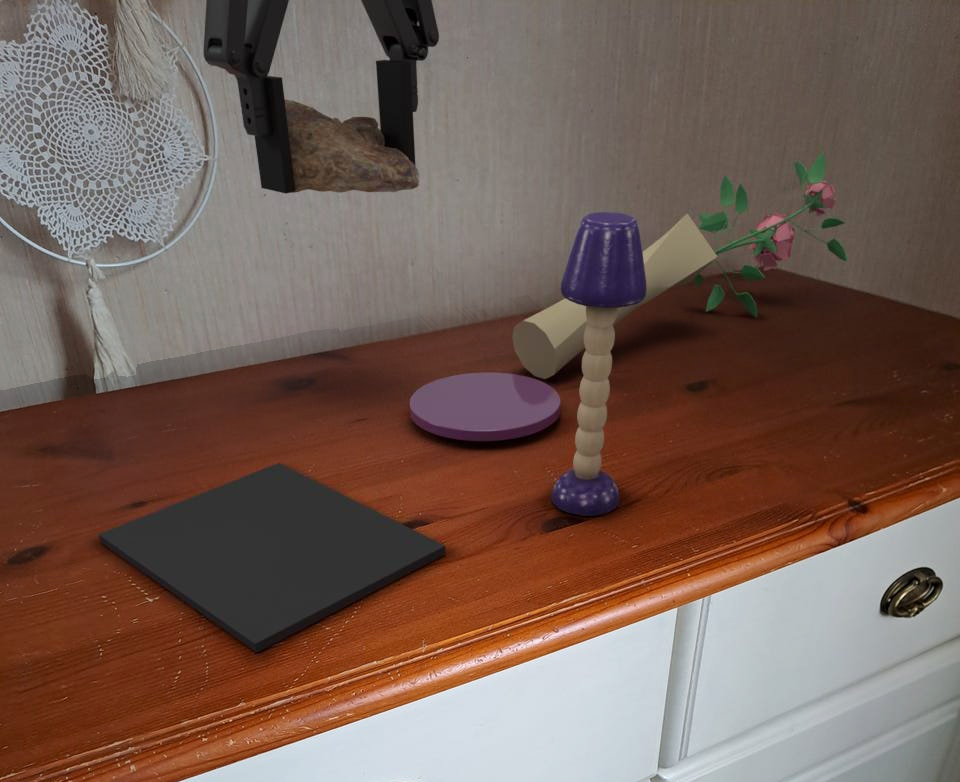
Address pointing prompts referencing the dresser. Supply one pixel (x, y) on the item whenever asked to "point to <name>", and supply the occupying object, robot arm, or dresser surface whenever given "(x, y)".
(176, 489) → the dresser surface
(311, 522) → the place mat
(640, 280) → the toy lamp
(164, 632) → the dresser surface
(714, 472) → the dresser surface
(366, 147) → the brown rock
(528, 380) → the saucer
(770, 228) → the flower vase
